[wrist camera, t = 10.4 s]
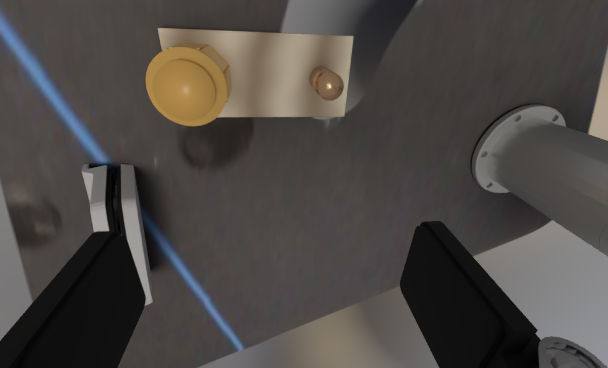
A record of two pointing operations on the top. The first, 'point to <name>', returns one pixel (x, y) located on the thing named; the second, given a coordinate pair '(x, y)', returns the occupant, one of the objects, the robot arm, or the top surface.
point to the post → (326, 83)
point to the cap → (189, 83)
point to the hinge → (119, 213)
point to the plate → (273, 69)
